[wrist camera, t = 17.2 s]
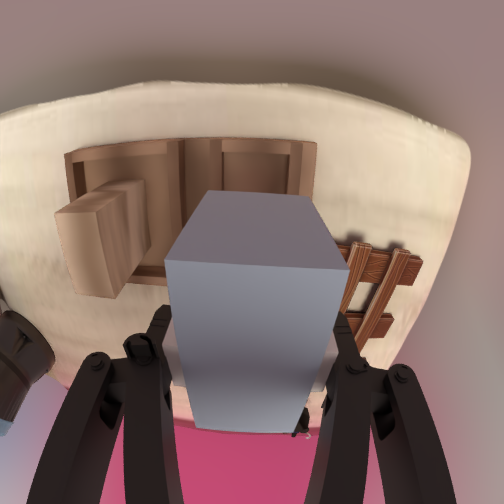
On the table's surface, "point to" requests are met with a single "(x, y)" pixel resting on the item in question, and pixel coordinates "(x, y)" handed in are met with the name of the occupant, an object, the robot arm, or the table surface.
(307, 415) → the toy
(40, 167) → the table surface
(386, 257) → the decorative fence
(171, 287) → the grey rectangular block
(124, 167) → the tray
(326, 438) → the robot arm
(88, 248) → the wooden block
